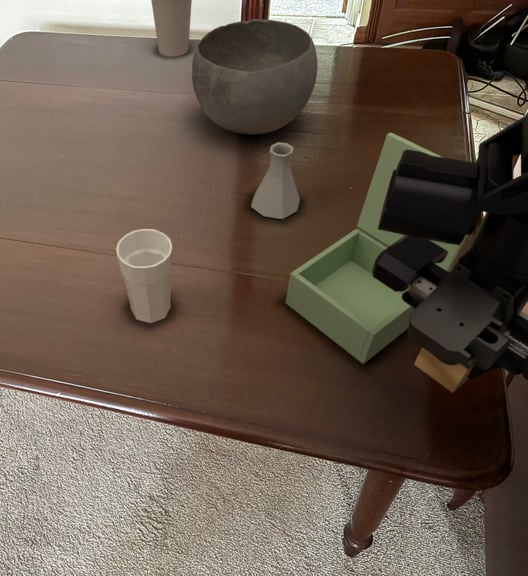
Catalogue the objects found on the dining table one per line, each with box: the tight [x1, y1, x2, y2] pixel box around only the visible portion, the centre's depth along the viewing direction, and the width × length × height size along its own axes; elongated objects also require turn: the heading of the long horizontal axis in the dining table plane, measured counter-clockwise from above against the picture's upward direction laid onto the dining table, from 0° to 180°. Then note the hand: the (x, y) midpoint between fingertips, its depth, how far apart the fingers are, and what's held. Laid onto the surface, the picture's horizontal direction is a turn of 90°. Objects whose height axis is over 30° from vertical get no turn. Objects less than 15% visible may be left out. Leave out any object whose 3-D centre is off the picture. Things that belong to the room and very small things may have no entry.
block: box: [413, 347, 475, 394], centre depth 56 cm, size 4×4×4 cm
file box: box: [285, 227, 415, 365], centre depth 70 cm, size 12×12×6 cm
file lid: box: [356, 132, 468, 273], centre depth 65 cm, size 13×12×1 cm
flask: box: [250, 141, 301, 220], centre depth 83 cm, size 7×7×10 cm
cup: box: [115, 228, 173, 324], centre depth 71 cm, size 7×7×11 cm
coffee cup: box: [151, 0, 193, 58], centre depth 117 cm, size 10×10×15 cm
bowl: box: [191, 18, 318, 135], centre depth 96 cm, size 20×20×15 cm
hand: (449, 360), depth 56 cm, fingers closed on block, 4 cm apart
